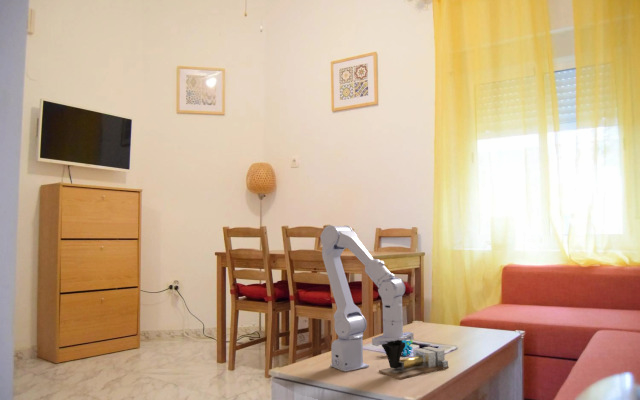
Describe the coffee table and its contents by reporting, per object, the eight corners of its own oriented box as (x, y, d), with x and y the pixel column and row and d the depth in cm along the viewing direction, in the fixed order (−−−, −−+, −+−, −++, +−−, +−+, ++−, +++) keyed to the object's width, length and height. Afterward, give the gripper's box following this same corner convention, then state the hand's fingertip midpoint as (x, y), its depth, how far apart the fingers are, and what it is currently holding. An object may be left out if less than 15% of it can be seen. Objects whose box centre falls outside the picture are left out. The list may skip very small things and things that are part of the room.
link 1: (428, 368, 144) (428, 353, 144) (409, 363, 150) (409, 348, 151) (435, 366, 146) (435, 352, 146) (416, 361, 152) (416, 347, 152)
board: (400, 379, 135) (400, 375, 135) (378, 372, 143) (378, 368, 143) (448, 367, 147) (448, 363, 147) (426, 361, 154) (426, 357, 154)
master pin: (402, 371, 139) (401, 362, 139) (391, 368, 143) (391, 359, 143) (426, 365, 145) (425, 357, 145) (415, 362, 148) (415, 354, 148)
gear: (394, 353, 158) (383, 328, 165) (385, 364, 161) (375, 338, 168) (420, 354, 163) (408, 329, 171) (411, 364, 166) (399, 339, 174)
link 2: (442, 367, 145) (441, 352, 145) (422, 362, 151) (422, 347, 152) (449, 365, 146) (448, 351, 147) (429, 360, 153) (429, 346, 153)
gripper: (383, 325, 134) (384, 375, 133) (420, 319, 142) (421, 366, 141) (366, 321, 140) (368, 369, 139) (403, 316, 148) (404, 361, 147)
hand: (394, 367), depth 140 cm, fingers closed
